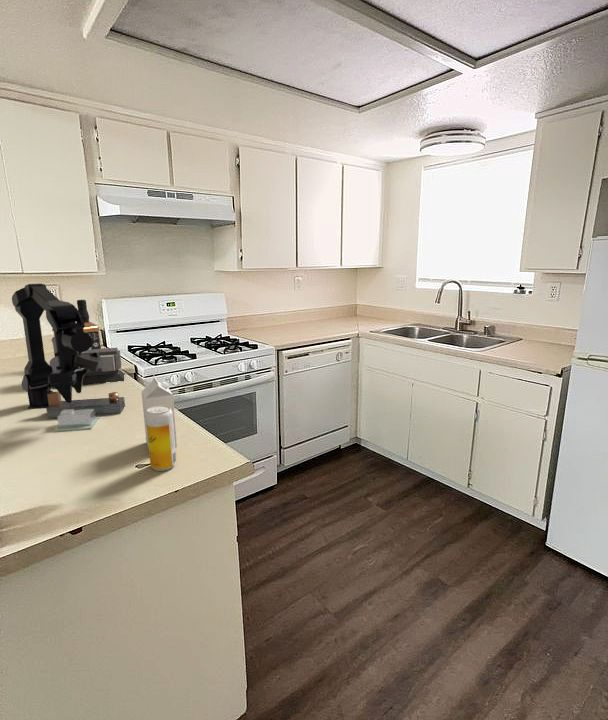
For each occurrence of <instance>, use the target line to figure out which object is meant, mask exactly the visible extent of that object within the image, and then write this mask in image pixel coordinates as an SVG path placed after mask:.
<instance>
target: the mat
mask: <svg viewBox="0 0 608 720" xmlns="http://www.w3.org/2000/svg"><path fill="white" fill-rule="evenodd" d="M95 417H96V420H95V421H94V422H93V424H92V425H87V426H74V427H61V428H59V425H58V426H57V427H56V428H55V429H54V433H58V432H59V433H60V432H61V431H62V432H73V430H75V431H84V430H85V431H87V430H92V429H93V428H94V426H95V425H96V424H97V422H98V421H97V420H99V419H100V417H99V416H95Z"/></svg>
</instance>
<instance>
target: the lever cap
mask: <svg viewBox="0 0 608 720" xmlns="http://www.w3.org/2000/svg"><path fill="white" fill-rule="evenodd" d="M60 413H61V414H60V415H59V416H58V418H57V423H58V426H59V428H61V427H74V426H87V425H92V424H93V422H94V421H95V420H96V417H97V416H96V415H95V409H84V410H74V409H68V410H62V411H61V412H60Z"/></svg>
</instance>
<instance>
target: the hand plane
mask: <svg viewBox="0 0 608 720" xmlns="http://www.w3.org/2000/svg"><path fill="white" fill-rule="evenodd" d="M47 396H48V403H49V407H45V408H46V409H45V410H46V415H47V419H48V418H52V419H58V416H59V415H60V414H61V413H60V412H61V411H62V410H68V409H74V410H84V409H95V416H106V415H117V414H120V413H121V412H123V411H124V409H125V408H124V407H126V403H125V397H124V396H120V395H119V392H116V391H113V392H109V393H108V395H107V396H108V397H105V398H102V397H101V398H85V399H84V398H83V399H72V402H71V403H67V402H66V401H65V400H62V395H61V394H60V393H59V392H58V391H53V392H50V393H48V394H47ZM121 414H122V413H121Z"/></svg>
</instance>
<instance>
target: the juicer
mask: <svg viewBox="0 0 608 720" xmlns="http://www.w3.org/2000/svg"><path fill="white" fill-rule="evenodd" d="M51 342H52V348H53V353H55V352H57V351H56V344H55V337H54V336H53V337H52V338H51ZM93 352H97V353H99V356H100V358H101V360H102V362H101V363H100V367H99V369H98V370H97V371H90V370H88V371H87V372H86V373H85V374H84V377H83V383H82V385H83V386H87V385H88V384H90V385H98V383H100V384H107V383H106V382H110V383H118V381H121V382H125V381H124V375H125V376H126V373H125V372H123V371H122V370H121V369H122V356H121V350H118V347H108V348H107V347H106V348H101V349H90V350H87V351H85V352H82V353H83V354H85V355H87V354H89V355H91V354H92V353H93ZM48 364H49V365H50V366H51V367H52V371H53V372H54V371H58V370H57V368H56V367H57V366H58V365H59V364H58V358H57V356H55V355H54V357H52V358H51V359H50V360H49V362H48ZM84 369H85V368H84ZM72 387H73V385H72ZM51 388H55V387H51ZM73 388H74V387H73Z"/></svg>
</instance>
